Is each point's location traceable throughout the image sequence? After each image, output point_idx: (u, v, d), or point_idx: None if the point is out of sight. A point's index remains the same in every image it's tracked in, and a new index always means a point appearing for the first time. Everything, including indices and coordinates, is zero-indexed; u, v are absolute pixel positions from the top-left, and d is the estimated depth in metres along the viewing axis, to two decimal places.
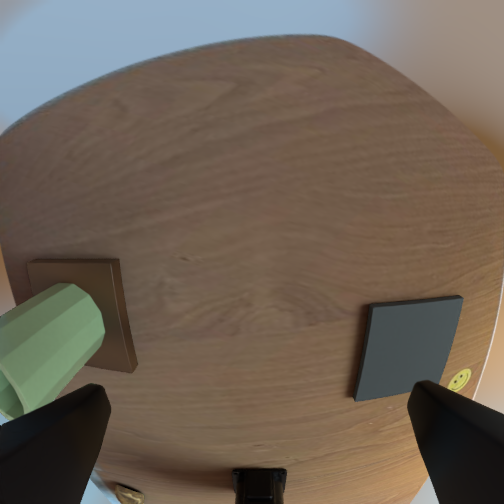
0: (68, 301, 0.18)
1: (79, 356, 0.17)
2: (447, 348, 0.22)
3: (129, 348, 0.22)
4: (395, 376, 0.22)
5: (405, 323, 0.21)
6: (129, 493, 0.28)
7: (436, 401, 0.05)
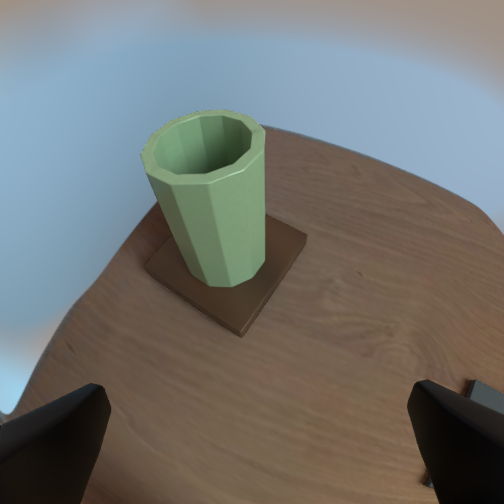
0: None
1: (251, 245, 0.18)
2: None
3: (258, 310, 0.21)
4: None
5: (491, 407, 0.15)
6: None
7: (436, 401, 0.05)
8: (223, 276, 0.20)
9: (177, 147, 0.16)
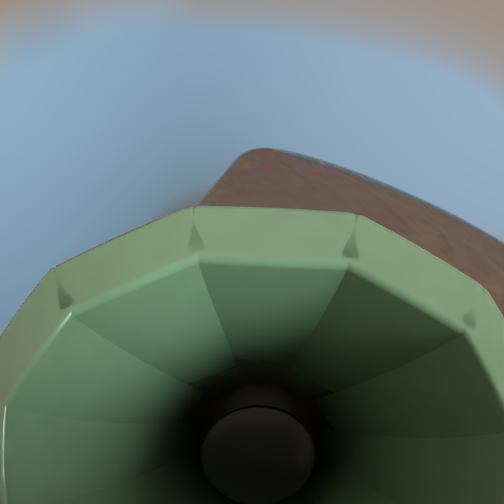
0: None
1: None
2: None
3: None
4: None
5: None
6: None
7: None
8: None
9: (114, 374, 0.03)
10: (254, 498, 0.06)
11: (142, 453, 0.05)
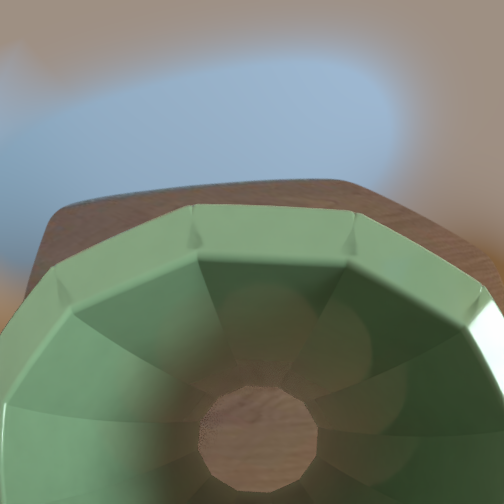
0: None
1: None
2: None
3: None
4: None
5: None
6: None
7: None
8: None
9: (114, 373, 0.03)
10: None
11: (142, 452, 0.05)
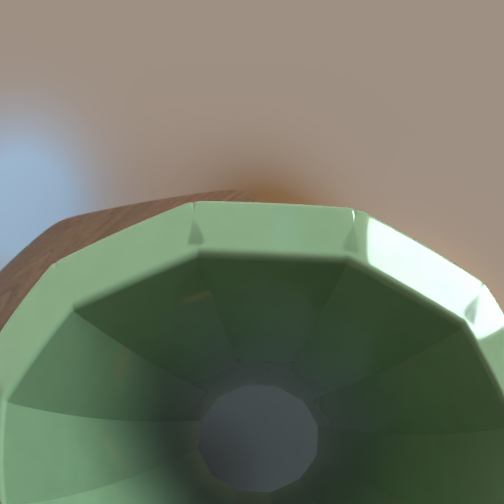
0: None
1: None
2: None
3: None
4: (265, 469, 0.14)
5: None
6: None
7: None
8: None
9: (114, 371, 0.03)
10: None
11: (142, 451, 0.05)
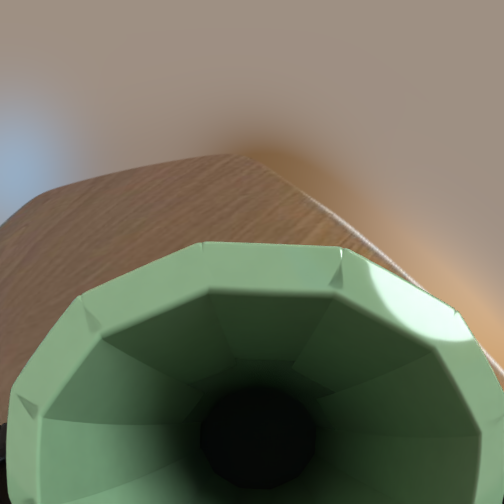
0: None
1: None
2: None
3: None
4: None
5: None
6: None
7: None
8: None
9: (132, 383, 0.04)
10: None
11: (152, 452, 0.05)
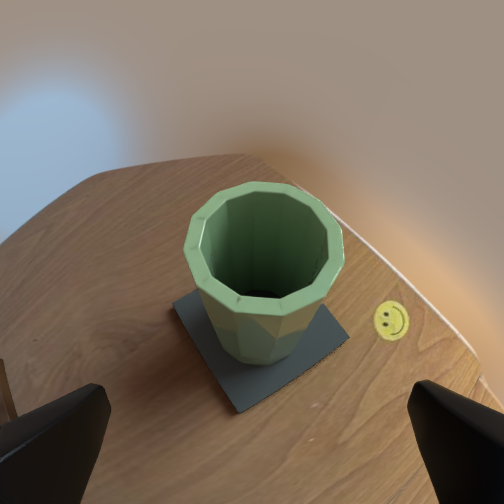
0: None
1: (300, 338, 0.16)
2: None
3: None
4: None
5: None
6: None
7: (436, 401, 0.05)
8: (262, 360, 0.18)
9: (223, 227, 0.14)
10: None
11: None
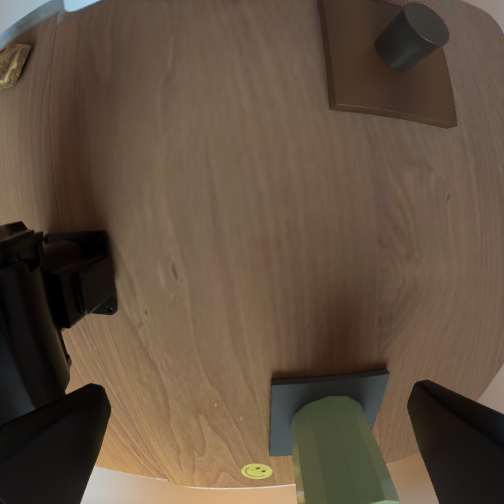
0: None
1: None
2: None
3: (366, 110, 0.16)
4: None
5: (364, 405, 0.21)
6: (17, 64, 0.14)
7: (436, 401, 0.05)
8: (298, 427, 0.19)
9: None
10: (414, 25, 0.10)
11: None
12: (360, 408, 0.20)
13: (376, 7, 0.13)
